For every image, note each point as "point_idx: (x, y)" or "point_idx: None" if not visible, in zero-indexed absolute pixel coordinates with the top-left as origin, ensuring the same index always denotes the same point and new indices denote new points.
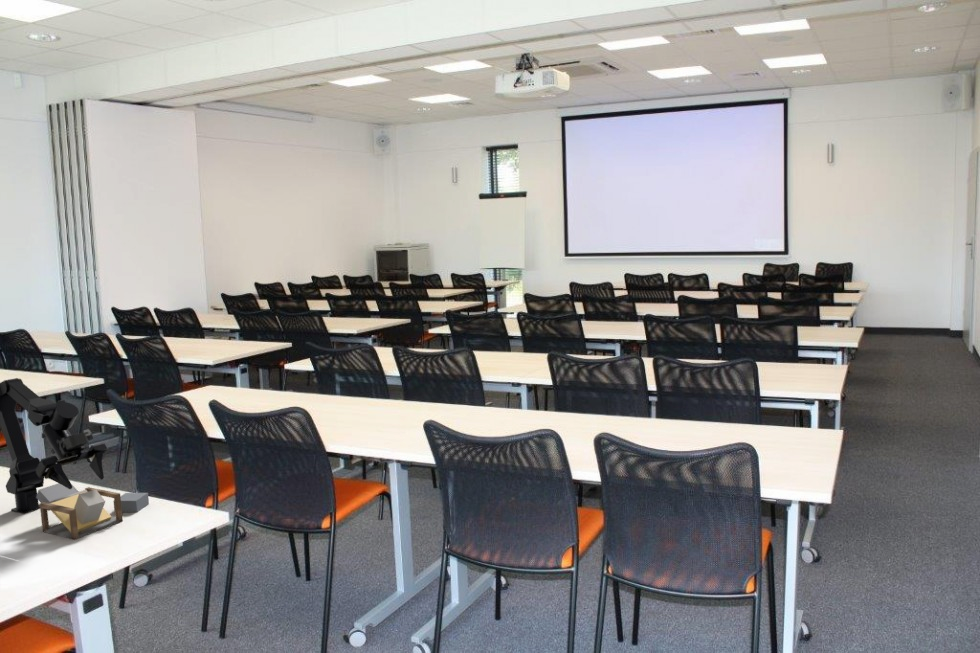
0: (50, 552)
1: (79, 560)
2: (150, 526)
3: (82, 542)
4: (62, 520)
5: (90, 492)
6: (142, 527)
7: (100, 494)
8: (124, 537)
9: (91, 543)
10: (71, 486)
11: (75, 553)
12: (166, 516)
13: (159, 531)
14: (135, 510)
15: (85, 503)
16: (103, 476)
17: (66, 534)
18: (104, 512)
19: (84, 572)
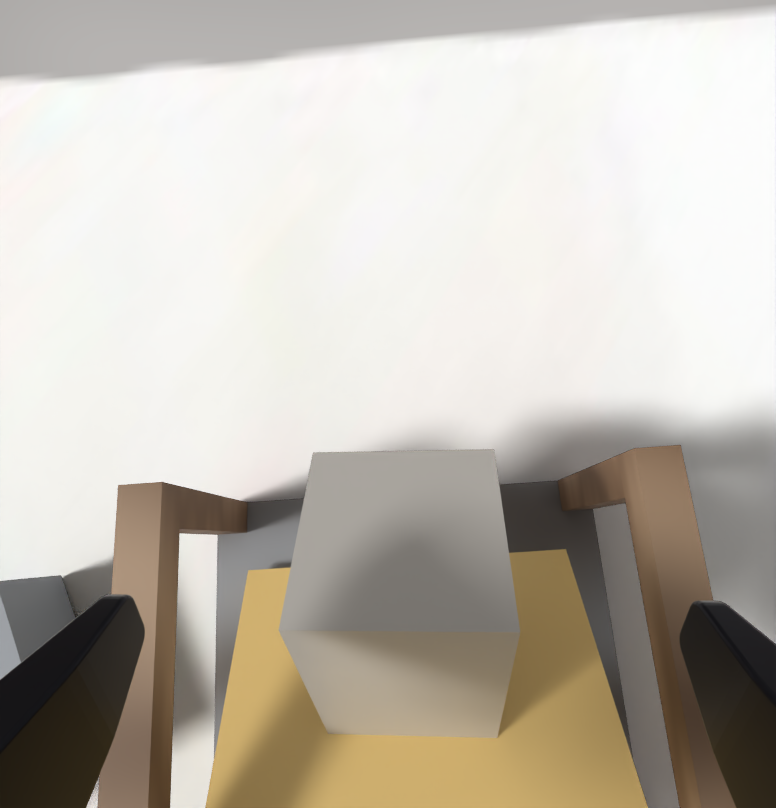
0: (766, 427)
1: (706, 181)
2: (211, 279)
3: (569, 404)
4: (607, 691)
5: (371, 604)
6: (242, 305)
7: (166, 768)
8: (392, 259)
9: (546, 341)
10: (716, 601)
11: (676, 284)
12: (53, 338)
13: (245, 175)
14: (56, 587)
15: (500, 496)
16: (96, 603)
17: (591, 589)
18: (260, 626)
19: (755, 41)
